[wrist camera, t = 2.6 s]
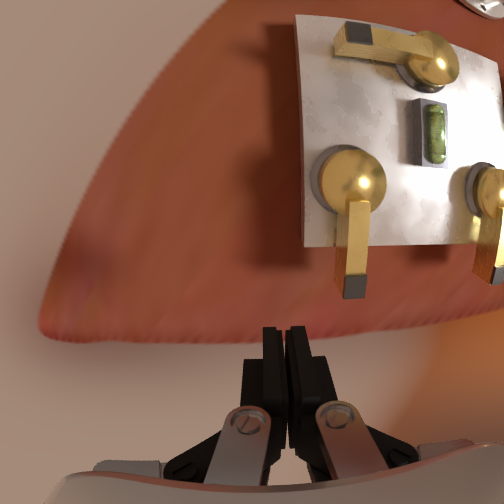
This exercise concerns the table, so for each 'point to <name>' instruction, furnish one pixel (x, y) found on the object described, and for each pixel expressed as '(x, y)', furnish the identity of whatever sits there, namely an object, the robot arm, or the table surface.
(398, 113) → the base plate
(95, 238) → the table surface
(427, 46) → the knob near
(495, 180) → the knob
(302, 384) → the robot arm
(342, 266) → the knob
